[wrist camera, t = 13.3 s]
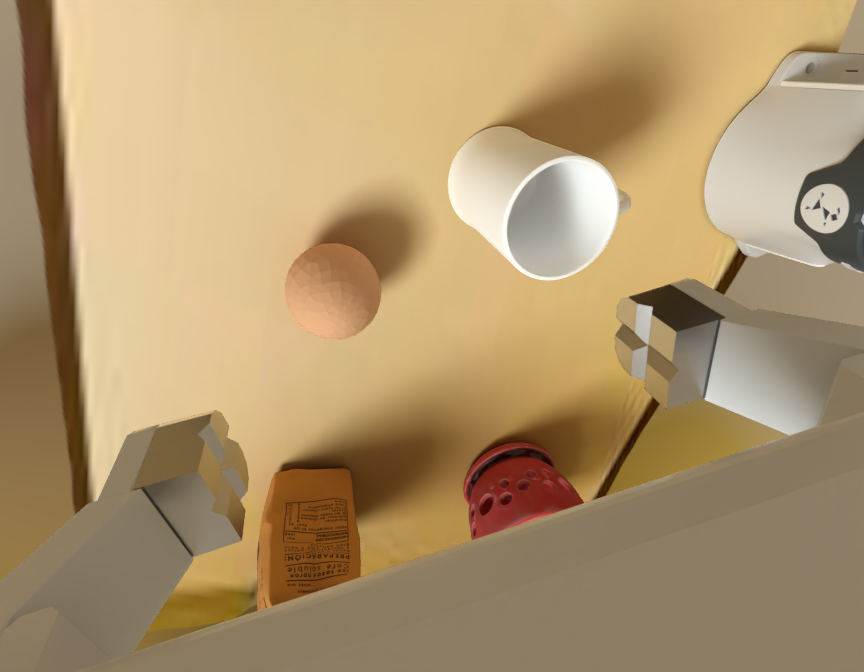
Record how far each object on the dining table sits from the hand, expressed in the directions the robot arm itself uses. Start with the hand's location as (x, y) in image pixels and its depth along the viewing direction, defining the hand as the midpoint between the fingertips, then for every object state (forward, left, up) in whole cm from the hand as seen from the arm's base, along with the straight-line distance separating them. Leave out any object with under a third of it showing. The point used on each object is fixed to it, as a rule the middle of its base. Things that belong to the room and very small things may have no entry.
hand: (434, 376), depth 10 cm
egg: (+3, +10, -31) cm, 33 cm away
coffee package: (+13, +36, -31) cm, 49 cm away
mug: (-14, +6, -31) cm, 35 cm away
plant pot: (-10, +41, -31) cm, 53 cm away
